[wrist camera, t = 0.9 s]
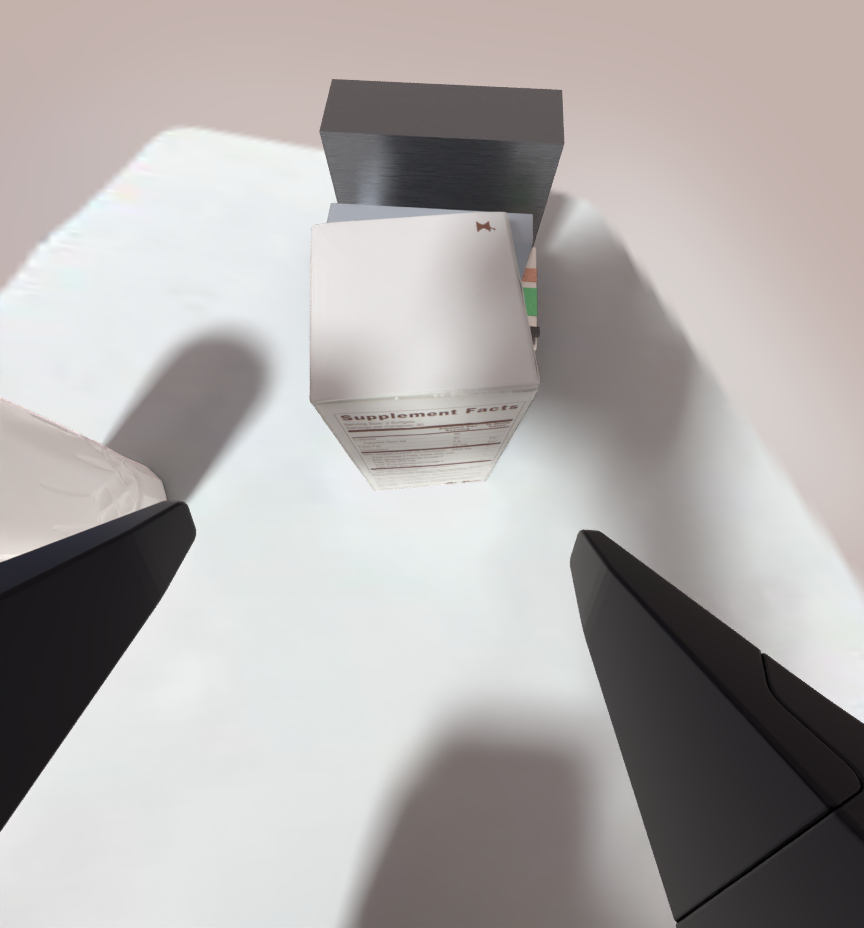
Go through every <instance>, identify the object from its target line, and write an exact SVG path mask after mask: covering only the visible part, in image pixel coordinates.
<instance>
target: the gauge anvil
mask: <svg viewBox="0 0 864 928" xmlns="http://www.w3.org/2000/svg"><path fill="white" fill-rule="evenodd" d="M320 135H321V139H322V143H323V147H324V151H325V155H326V159H327V163H328V167H329V171H330V175H331V179H332V182H333V186H334V190H335V194H336V198H337V202H338V203H340V204H357V205H375V206H393V207H411V208H429V209H447V210H465V211H483V212H506V213H519V214H533V244H532V247H531V250H530V254H529V257H528V261H527V264H526V267H525V271H524V274H523V277H522V281H521V282H522V286H523V291H524V299H525V305H526V311H527V316H528V320H529V325H530V326H534V327H537V288H536V283H537V269H536V247H533V245H534V242H535V239H536V235H537V232H538V229H539V225H540V222H541V219H542V216H543V212H544V209H545V206H546V202H547V199H548V196H549V192H550V189H551V186H552V182H553V179H554V176H555V173H556V169H557V166H558V163H559V159H560V156H561V153H562V149H563V146H564V127H563V103H562V90H551V89H530V88H508V87H486V86H485V87H484V86H465V85H443V84H423V83H401V82H380V81H379V82H378V81H359V80H338V79H332V83H331V86H330V91H329V95H328V99H327V103H326V107H325V111H324V115H323V119H322V123H321V127H320ZM532 341H533V346H534V351H535V352H536V349H537V338H536V337H532Z"/></svg>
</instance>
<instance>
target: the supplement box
mask: <svg viewBox="0 0 864 928" xmlns="http://www.w3.org/2000/svg"><path fill="white" fill-rule="evenodd" d="M539 388H540V375H539V371H538V365H537V360H536V355H535V351H534V346H533V341H532V336H531V331H530V325H529V320H528V316H527V311H526V305H525V299H524V291H523V286H522V282H521V279H520V275H519V270H518V265H517V260H516V255H515V250H514V245H513V240H512V234H511V229H510V223H509V216H508V213H506V212H472V213H455V214H442V215H428V216H415V217H402V218H387V219H373V220H361V221H343V222H331V223H324V224H317V225H314V226H313V227H312V233H311V283H310V402H311V403H312V404H313V406H314V407H315V409H316V410H317V411H318V413H319V414H320V415H321V417H322V419H323V420H324V422H325V423H326V424H327V426H328V427H329V429H330V430H331V431H332V432H333V434H334V435H335V437H336V438H337V440H338V441H339V443H340V444H341V445H342V447H343V448H344V450H345V451H346V453H347V454H348V455H349V457H350V458H351V460H352V461H353V462H354V464H355V465H356V467H357V468H358V469H359V471H360V472H361V474H362V475H363V476H364V478H365V479H366V480H367V482H368V483H369V485H370V486H371V487H372V489H373V490H374V491H380V490H390V489H401V488H412V487H425V486H436V485H448V484H459V483H470V482H482V481H486V480H487V478H488V476H489V475H490V473H491V471H492V469H493V468H494V466H495V464H496V462H497V461H498V459H499V457H500V455H501V454H502V452H503V450H504V449H505V447H506V445H507V443H508V442H509V440H510V438H511V437H512V435H513V433H514V431H515V430H516V428H517V426H518V424H519V423H520V421H521V419H522V417H523V416H524V414H525V412H526V411H527V409H528V407H529V405H530V404H531V402H532V400H533V398H534V396H535V395H536V393H537V392H538V390H539Z"/></svg>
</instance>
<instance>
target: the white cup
mask: <svg viewBox="0 0 864 928" xmlns="http://www.w3.org/2000/svg"><path fill="white" fill-rule="evenodd" d="M165 500H167V497H166V494H165V490H164V486H163V482H162V481H161V480H160V479H159V478H158V477H157V476H156V475H155V474H154V473H153V472H152V471H151V470H150V469H149V468H148V467H147V466H145V465H142V464H140V463H138V462H136V461H133V460H131V459H129V458H126V457H124V456H122V455H120V454H118V453H117V452H115V451H113V450H112V449H110V448H108V447H106V446H105V445H103V444H100V443H98V442H96V441H94V440H91V439H89V438H87V437H85V436H83V435H82V434H80V433H78V432H76V431H74V430H71V429H69V428H67V427H65V426H63V425H61V424H58V423H56V422H54V421H52V420H50V419H47V418H45V417H43V416H41V415H39V414H36V413H34V412H32V411H30V410H28V409H25V408H23V407H21V406H19V405H17V404H15V403H12V402H10V401H8V400H6V399H4V398H2V397H0V562H3V561H5V560H8V559H11V558H13V557H16V556H19V555H21V554H24V553H27V552H29V551H32V550H34V549H37V548H40V547H42V546H45V545H48V544H50V543H53V542H56V541H58V540H61V539H64V538H66V537H69V536H72V535H74V534H77V533H79V532H82V531H85V530H87V529H90V528H93V527H95V526H98V525H101V524H103V523H106V522H109V521H111V520H114V519H116V518H119V517H122V516H124V515H127V514H130V513H132V512H135V511H138V510H140V509H143V508H146V507H148V506H151V505H154V504H156V503H159V502H161V501H165Z"/></svg>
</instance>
